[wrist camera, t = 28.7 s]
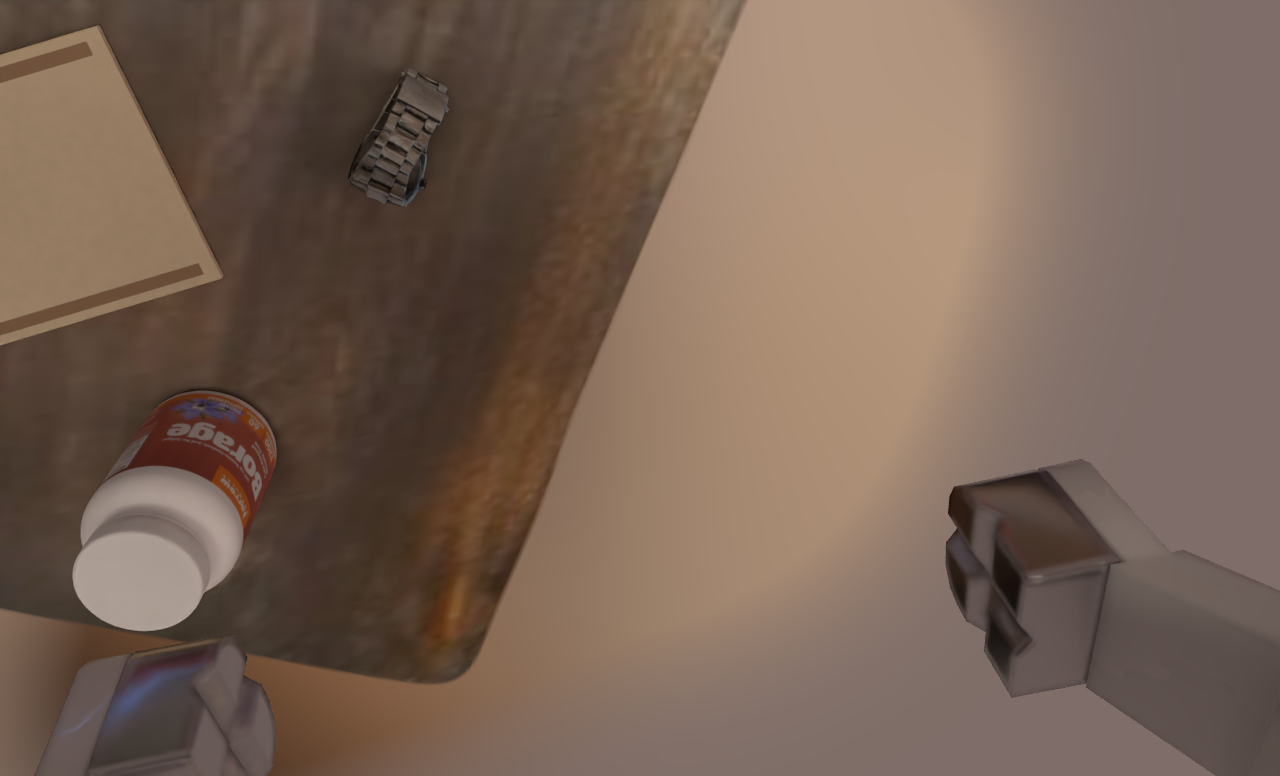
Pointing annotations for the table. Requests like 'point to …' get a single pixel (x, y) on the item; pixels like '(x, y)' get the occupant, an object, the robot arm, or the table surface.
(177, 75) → the table surface
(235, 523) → the pill bottle
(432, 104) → the wristwatch
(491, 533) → the table surface
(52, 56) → the cutting board
